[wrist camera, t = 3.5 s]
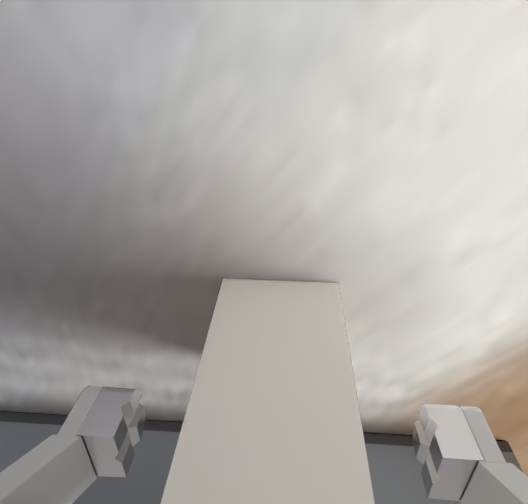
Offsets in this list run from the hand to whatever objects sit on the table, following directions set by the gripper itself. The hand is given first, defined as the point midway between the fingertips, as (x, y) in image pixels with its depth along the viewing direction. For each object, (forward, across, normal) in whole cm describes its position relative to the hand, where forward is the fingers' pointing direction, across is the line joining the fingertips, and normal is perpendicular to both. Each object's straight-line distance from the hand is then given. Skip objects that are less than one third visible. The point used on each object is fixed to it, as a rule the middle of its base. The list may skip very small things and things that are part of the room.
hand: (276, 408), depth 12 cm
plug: (+4, 0, 0) cm, 4 cm away
